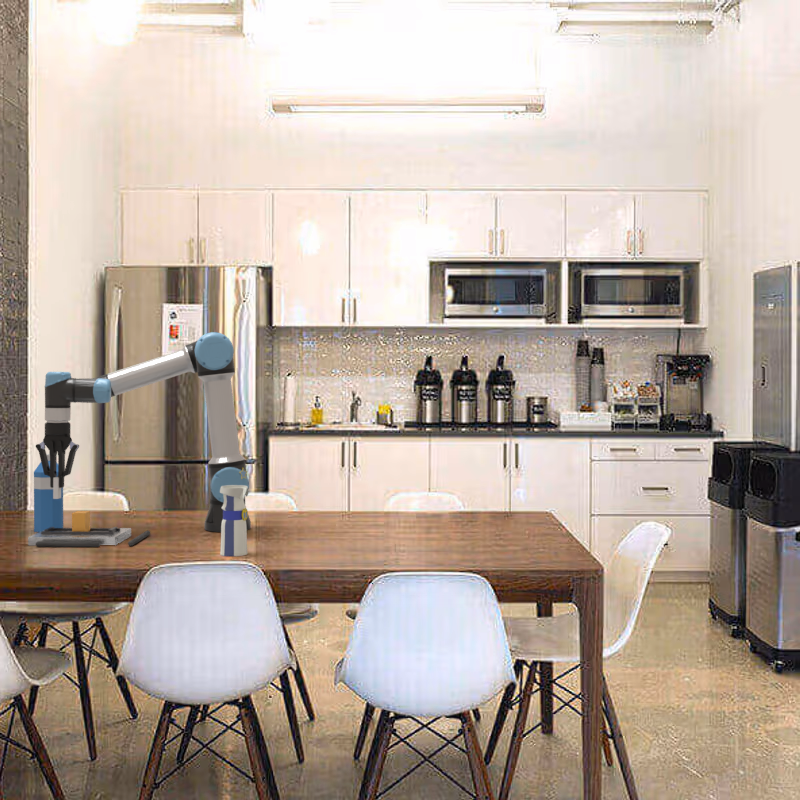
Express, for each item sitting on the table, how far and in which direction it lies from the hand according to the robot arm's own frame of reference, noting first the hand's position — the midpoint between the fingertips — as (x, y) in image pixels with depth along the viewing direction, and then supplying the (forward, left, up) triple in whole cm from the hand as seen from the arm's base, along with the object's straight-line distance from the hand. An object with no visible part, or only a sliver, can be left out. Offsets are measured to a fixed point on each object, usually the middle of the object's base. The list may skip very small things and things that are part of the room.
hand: (57, 498), depth 311 cm
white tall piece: (-58, +22, -13) cm, 64 cm away
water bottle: (+10, -20, -13) cm, 26 cm away
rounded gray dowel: (-25, 0, -13) cm, 28 cm away
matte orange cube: (-7, 0, -10) cm, 13 cm away
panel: (-7, 0, -13) cm, 15 cm away
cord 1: (-7, +11, -13) cm, 19 cm away
